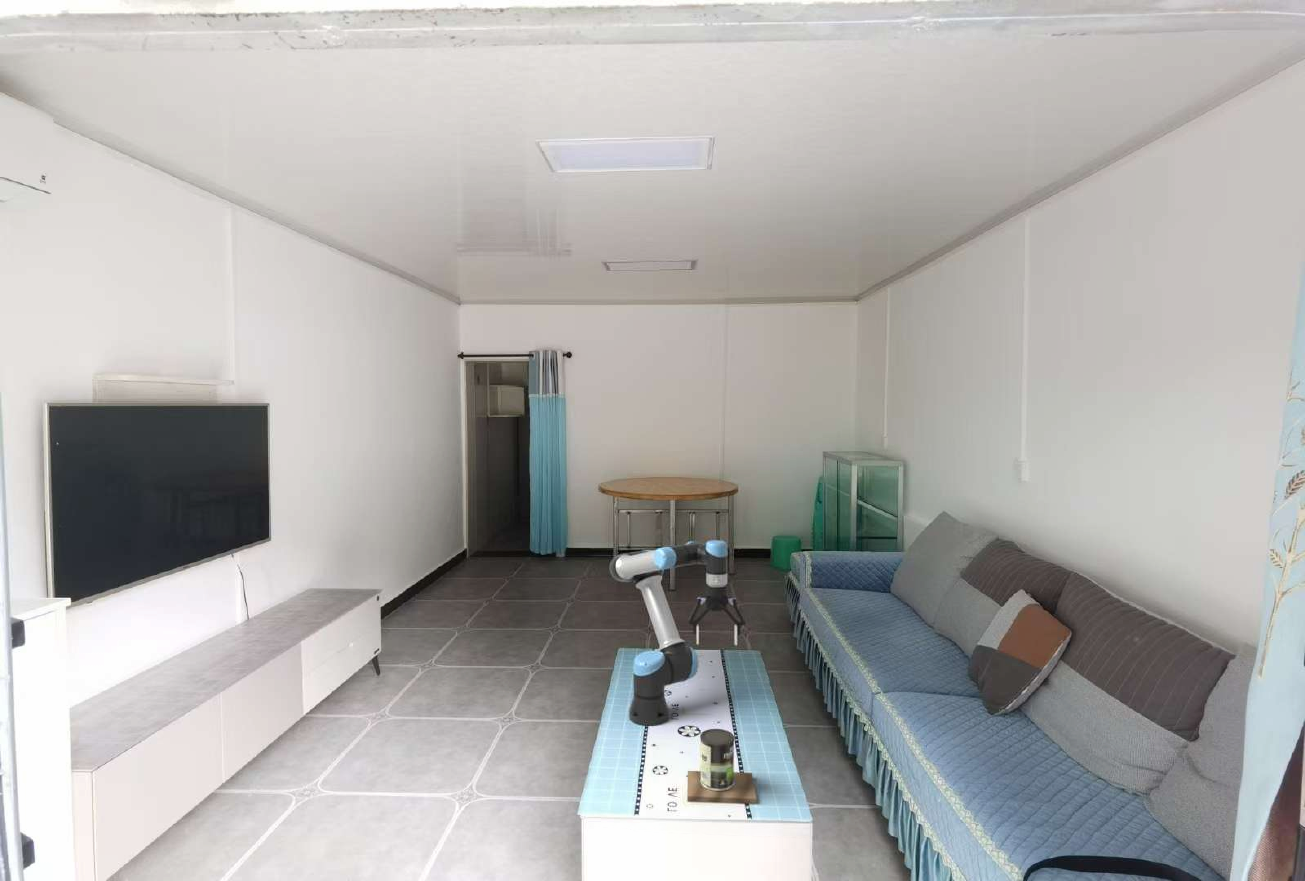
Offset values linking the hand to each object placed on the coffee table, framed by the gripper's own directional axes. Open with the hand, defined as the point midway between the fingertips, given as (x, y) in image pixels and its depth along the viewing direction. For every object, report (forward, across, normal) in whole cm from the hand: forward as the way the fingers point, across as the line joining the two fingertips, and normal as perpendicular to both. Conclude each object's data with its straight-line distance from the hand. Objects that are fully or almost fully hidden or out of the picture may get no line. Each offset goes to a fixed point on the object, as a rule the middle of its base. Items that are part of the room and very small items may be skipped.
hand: (716, 643), depth 232 cm
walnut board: (+32, 0, -37) cm, 49 cm away
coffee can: (+30, -1, -36) cm, 47 cm away
